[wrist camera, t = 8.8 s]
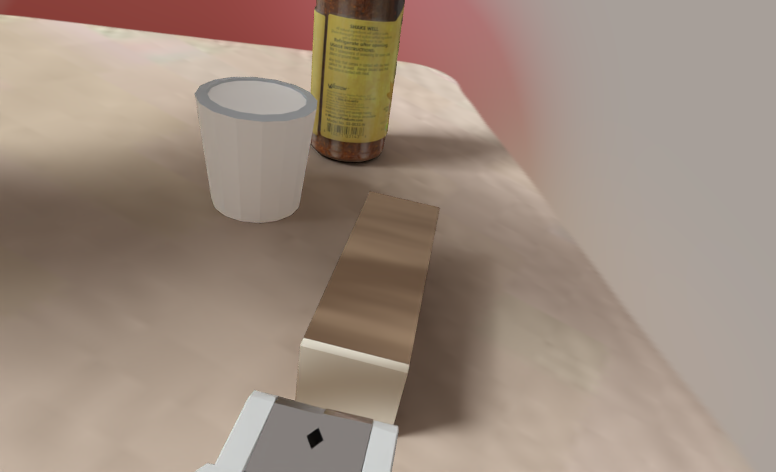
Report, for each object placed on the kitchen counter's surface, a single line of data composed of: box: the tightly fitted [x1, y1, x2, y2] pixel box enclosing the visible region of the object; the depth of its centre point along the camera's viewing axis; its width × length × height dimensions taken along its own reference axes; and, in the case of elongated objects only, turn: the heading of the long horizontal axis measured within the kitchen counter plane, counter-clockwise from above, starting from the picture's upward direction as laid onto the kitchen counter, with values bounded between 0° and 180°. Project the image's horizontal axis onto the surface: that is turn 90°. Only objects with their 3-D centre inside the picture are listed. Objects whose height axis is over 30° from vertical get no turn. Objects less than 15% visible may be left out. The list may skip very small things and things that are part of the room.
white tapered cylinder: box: [195, 77, 317, 223], centre depth 31 cm, size 7×7×7 cm
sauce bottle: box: [311, 0, 405, 162], centre depth 35 cm, size 6×6×20 cm
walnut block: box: [295, 191, 440, 430], centre depth 24 cm, size 4×4×12 cm
